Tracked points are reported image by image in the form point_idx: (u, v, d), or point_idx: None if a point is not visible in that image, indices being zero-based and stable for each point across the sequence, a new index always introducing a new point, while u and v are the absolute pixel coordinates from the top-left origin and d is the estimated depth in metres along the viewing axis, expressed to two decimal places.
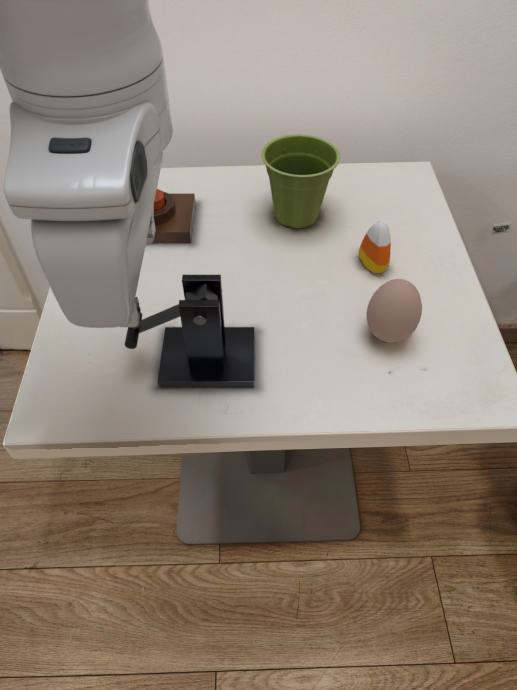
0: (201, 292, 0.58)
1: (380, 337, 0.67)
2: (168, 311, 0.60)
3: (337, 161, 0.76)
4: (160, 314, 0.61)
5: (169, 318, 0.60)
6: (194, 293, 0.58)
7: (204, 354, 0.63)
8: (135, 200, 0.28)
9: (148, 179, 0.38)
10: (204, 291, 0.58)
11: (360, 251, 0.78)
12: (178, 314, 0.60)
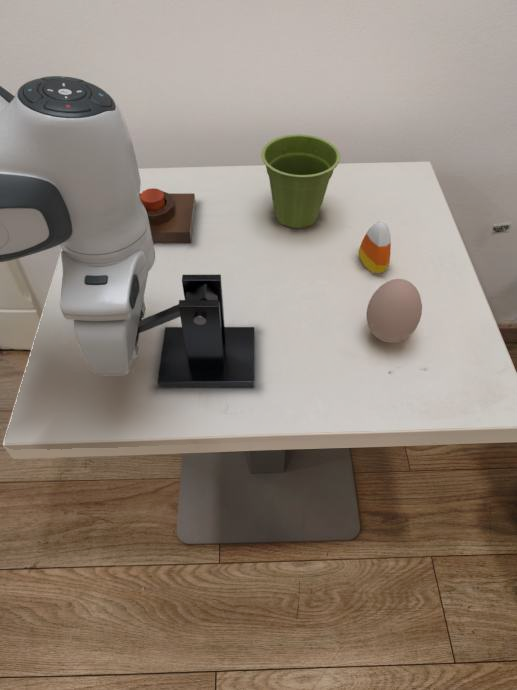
0: (201, 292, 0.58)
1: (380, 337, 0.67)
2: (168, 311, 0.60)
3: (337, 161, 0.76)
4: (160, 314, 0.61)
5: (169, 318, 0.60)
6: (194, 293, 0.58)
7: (204, 354, 0.63)
8: (132, 308, 0.49)
9: None
10: (204, 291, 0.58)
11: (360, 251, 0.78)
12: (178, 314, 0.60)
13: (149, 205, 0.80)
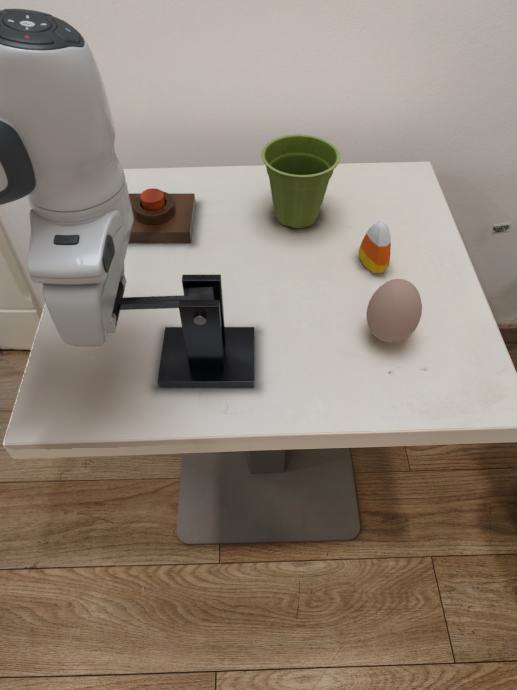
0: (207, 293, 0.58)
1: (380, 337, 0.67)
2: (163, 299, 0.59)
3: (337, 161, 0.76)
4: (152, 299, 0.59)
5: (161, 306, 0.59)
6: (198, 292, 0.58)
7: (204, 354, 0.63)
8: (106, 271, 0.45)
9: (120, 244, 0.55)
10: (211, 294, 0.58)
11: (360, 251, 0.78)
12: (172, 305, 0.59)
13: (149, 205, 0.80)
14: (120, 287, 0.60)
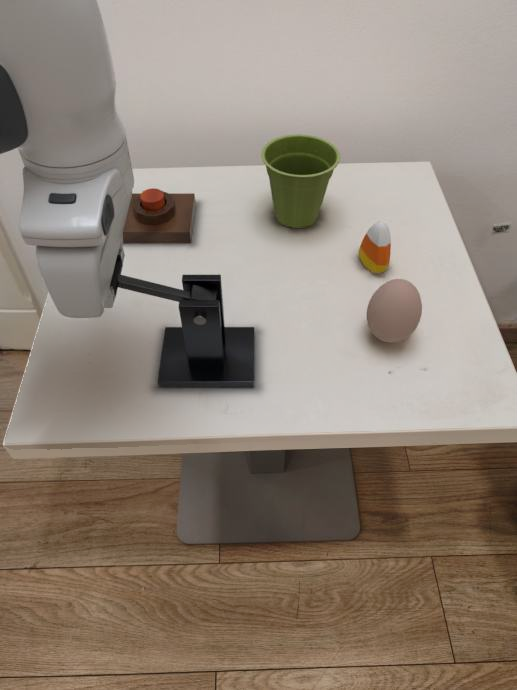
0: (211, 296, 0.58)
1: (380, 337, 0.67)
2: (165, 289, 0.57)
3: (337, 161, 0.76)
4: (154, 286, 0.57)
5: (161, 295, 0.57)
6: (203, 292, 0.58)
7: (204, 354, 0.63)
8: (105, 234, 0.42)
9: (119, 212, 0.52)
10: (215, 297, 0.58)
11: (360, 251, 0.78)
12: (173, 298, 0.58)
13: (149, 205, 0.80)
14: (120, 263, 0.57)
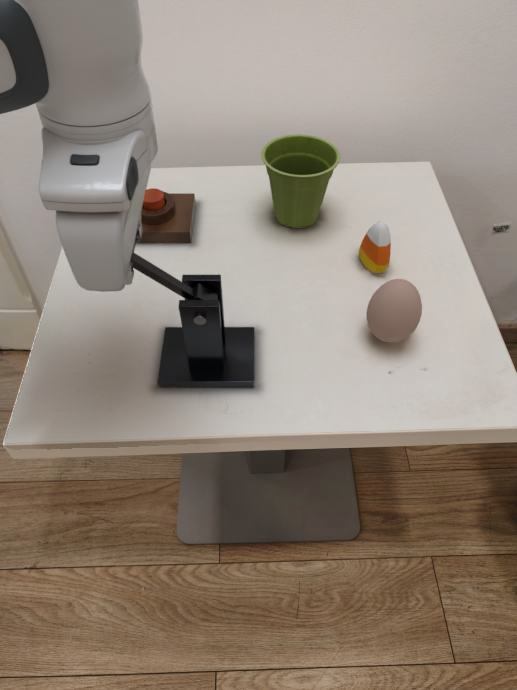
0: (213, 299, 0.59)
1: (380, 337, 0.67)
2: (173, 280, 0.56)
3: (337, 161, 0.76)
4: (163, 274, 0.56)
5: (167, 285, 0.56)
6: (207, 293, 0.58)
7: (204, 354, 0.63)
8: (129, 198, 0.39)
9: (139, 183, 0.50)
10: None
11: (360, 251, 0.78)
12: (177, 291, 0.57)
13: (149, 205, 0.80)
14: (135, 241, 0.55)
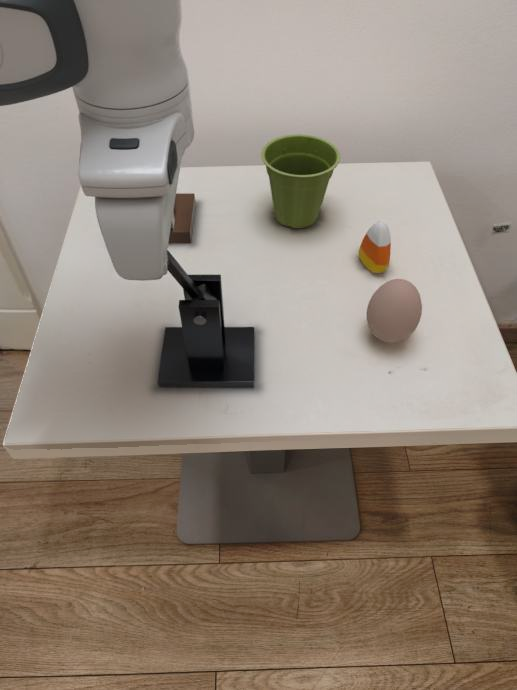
0: None
1: (380, 337, 0.67)
2: (185, 275, 0.56)
3: (337, 161, 0.76)
4: (178, 267, 0.55)
5: (178, 278, 0.55)
6: (210, 295, 0.59)
7: (204, 354, 0.63)
8: (170, 183, 0.38)
9: None
10: None
11: (360, 251, 0.78)
12: (185, 286, 0.56)
13: None
14: None
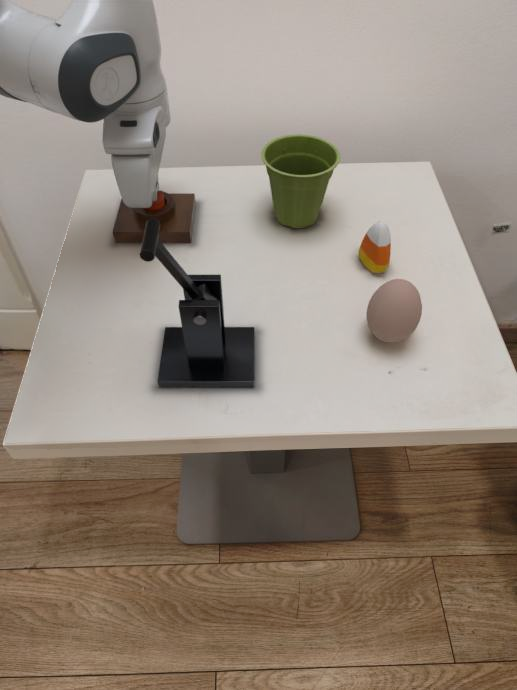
0: None
1: (380, 337, 0.67)
2: (184, 275, 0.56)
3: (337, 161, 0.76)
4: (178, 267, 0.55)
5: (178, 278, 0.55)
6: (210, 295, 0.59)
7: (204, 354, 0.63)
8: (155, 146, 0.66)
9: (159, 143, 0.76)
10: None
11: (360, 251, 0.78)
12: (185, 286, 0.56)
13: None
14: (159, 227, 0.53)
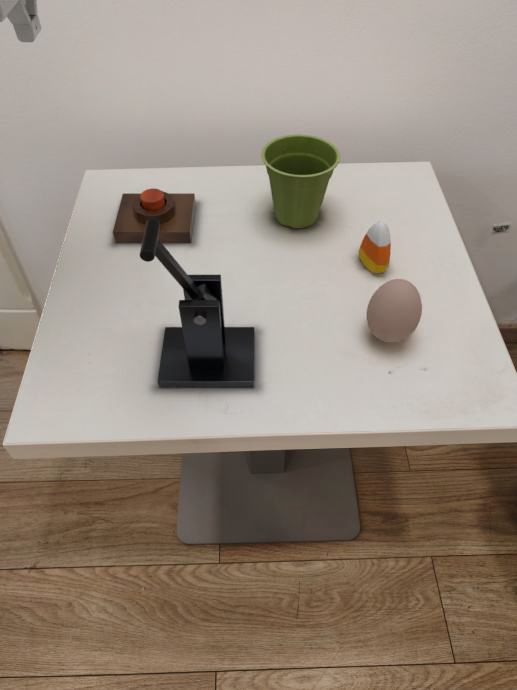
0: None
1: (380, 337, 0.67)
2: (184, 275, 0.56)
3: (337, 161, 0.76)
4: (178, 267, 0.55)
5: (178, 278, 0.55)
6: (210, 295, 0.59)
7: (204, 354, 0.63)
8: None
9: None
10: None
11: (360, 251, 0.78)
12: (185, 286, 0.56)
13: (149, 205, 0.80)
14: (159, 227, 0.53)
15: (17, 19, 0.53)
